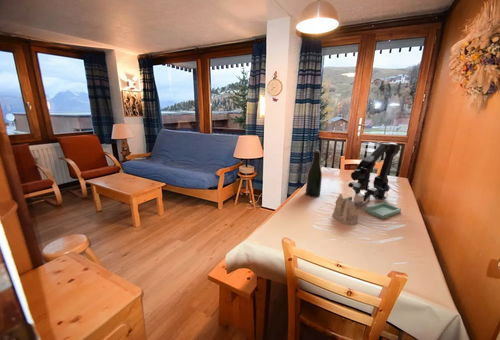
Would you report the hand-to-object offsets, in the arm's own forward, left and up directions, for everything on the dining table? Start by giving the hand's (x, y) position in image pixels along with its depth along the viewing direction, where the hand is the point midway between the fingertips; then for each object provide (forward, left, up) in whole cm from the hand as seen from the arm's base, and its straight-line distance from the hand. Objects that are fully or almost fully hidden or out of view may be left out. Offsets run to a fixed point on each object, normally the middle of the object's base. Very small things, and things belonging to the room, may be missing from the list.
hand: (360, 199), depth 151 cm
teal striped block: (-2, 0, -1) cm, 3 cm away
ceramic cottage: (+27, +11, -2) cm, 29 cm away
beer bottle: (+20, -25, -2) cm, 32 cm away
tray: (+1, +16, -2) cm, 16 cm away
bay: (+8, 0, -2) cm, 8 cm away
